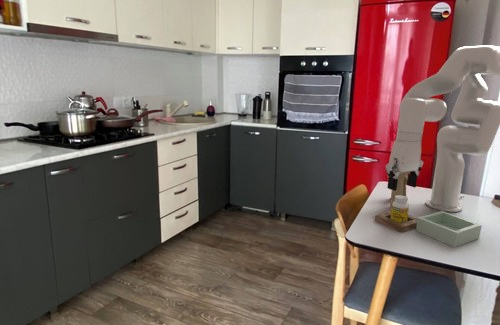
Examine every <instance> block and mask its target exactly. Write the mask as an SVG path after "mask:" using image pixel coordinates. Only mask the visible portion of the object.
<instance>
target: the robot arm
mask: <svg viewBox="0 0 500 325" xmlns="http://www.w3.org/2000/svg"><path fill="white" fill-rule="evenodd" d="M438 70H439V71H438V72H436V74H435V73H434V74H433V75H431V76H429V77H428V78H425V79H422V80H421V81H419V82H417V83H416V84H414V85H413V86H412V87H411V88H410V89H409V90H408V92H407V93H406V94H405V95H404V97H403V98H402V100H401V101H400V104H399V109H398V110H399V111H398V112H399V115H398V122H397V123H398V124H397V129H396V130H397V131H396V137H395V140H394V142H393V145H392V147H391V152H390V156H389V160H388V161H389V162H388V163H387V164H385V173H386V174H387V178H388V179H387V180H388V181H387V187H386V188H387V189H388V190H391V191H392V190H394V191H396V190H397V183H398V179H396V178H397V177H398V175H399V174H400V173H404V172H409V174H408V175H407V176H408V180H407V182H406V186H409V187H412V188H416V187H417V182H418V176H419V175H420V172H421V170H422V167H423V165H424V161H423V160H422V158H421V157H422V139H423V132H424V128H425V127H424V126H425V122H430V123H431V122H432V123H434V122H439V121H441V120H442V119H443V118H444V117H445V116H446V114H447V110H448V109H447V108H448V106H447V104H446V102H445V101H444V100H442V99H441V98H440V99H439V98H435V96H440V95H443V94H444V95H445V94H448V93H451V92H455V91H456V90H458V89H459V88H460V87H461V89H460V91H459V94H458V97H457V99H456V101H455V104H454V107H453V108H452V110H451V120H452V122H453V123H455V124H458V125H455V124H454V125H445V126H442V127H441V128H440V129H439V131H438V132H437V136H436V146H437V153H436V163H435V169H434V173H433V174H434V175H433V182H432V189H431V196H430V198H427V199H426V200H425V204H426V205H427V206H428V207H429V208H431V209H434V210H437V211H444V212H447V213H457V212H461V211H463V205H462V204H461V203H460V200H464V198H465V195H464V194H461V190H462V186H463V185H462V184H463V178H464V174H465V166H466V165H465V164H466V163H465V160H464V159H465V158H464V157H463V155H462V154H466V155H469V156H470V155H471V156H477V157H478V156H479V157H482V156H485V155H486V154H487V153H489V151H490V150H491V147H492V146H493V143H494V140H495V138H496V136H497V132H498V130H499V127H500V102H498V101H496V100H495V101H494V100H485V99H486V96H487V94H488V86H487V84H486V82H485V81H484V79H483V78H482V76H481V75H484V76H485V75H490V76H491V75H497V76H498V75H499V76H500V46H496V45H475V46H474V45H473V46H472V45H471V46H462V47H459V48H457V49H456V50H454V51H453V52H452V53H451V55H449V57H448V59H447V60H446V61H445V62H444V64H443V65H442V67H441V68H440V69H438ZM433 97H434V98H433ZM462 125H464V126H462ZM470 126H471V127H470ZM474 127H475V128H474ZM476 127H479V128H476ZM394 172H396V173H395V174H394Z"/></svg>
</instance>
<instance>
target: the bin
mask: <svg viewBox="0 0 500 325" xmlns="http://www.w3.org/2000/svg"><path fill="white" fill-rule="evenodd" d="M417 218H418V219H417V226H416V229H415V231H417V232H419V233H421V234H424V235H425V236H427V237H430V238H432V239H435V240H436V241H440V242H442V243H443V244H447V245H449V246H451V247H454V248H455V247H459V246H461V245H464V244H467V243H470V242H472V241H475V240H478V239H480V236H481V231H482V224H481V223H478V222H474V221H472V220H469V219H466V218H463V217H461V216H457V215H454V214H451V212H447V211H441V210H439V211H437V212H434V213H429V214H426V215H422V216H418V217H417Z"/></svg>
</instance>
